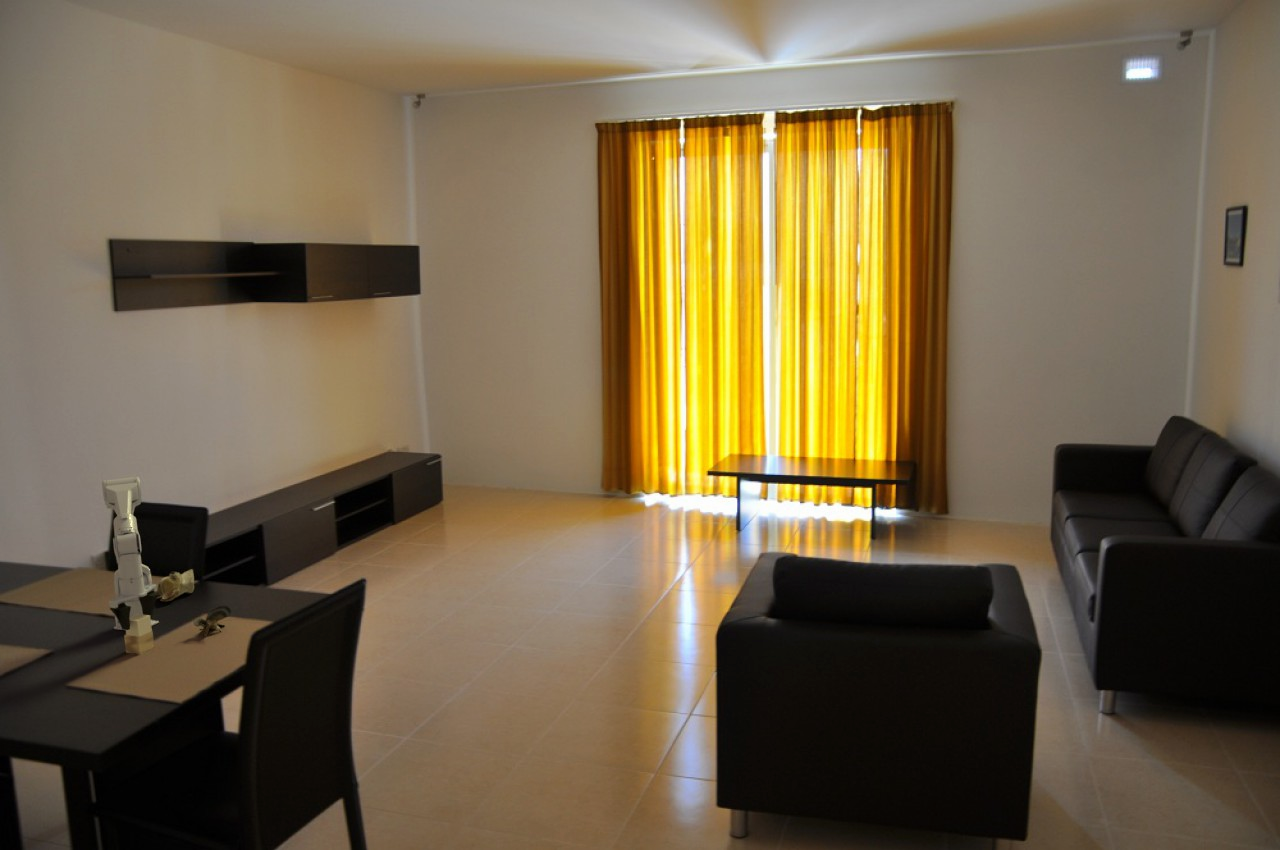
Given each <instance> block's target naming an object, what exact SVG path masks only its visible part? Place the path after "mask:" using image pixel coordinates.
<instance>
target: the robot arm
mask: <svg viewBox="0 0 1280 850" xmlns="http://www.w3.org/2000/svg"><path fill="white" fill-rule="evenodd" d="M140 479H141V478H140V477H138V476H137V475H136V476H132V477H125V478H115V479H107V480H106V479H104V480H103V481H102V482H101V487H102V496H103V501H104V504H105V506H106V509H110V510H114V513H115V514H116V517H115V518H114V519H113V531H114V537H113V539H112V541H113V543H112V544H113V551H114V555H115V557H116V558H115V559H116V564H117V566H118V567H117V568H118V569H117V570H115V572H114V574H113V579H114V580H113V584H114V593H115V597H113V598H112V599H110V600H108V605H109V610H110V611H111V612H112V613H113V614H114V620H115V626H114V627H113V629H114V630H119V631H126V630H129V629H130V617H131V616H134V615H136V614H142V615H150V619H151V627H153V626H154V625H157V624H160V622H159V620H154V619H153V613H154V609H155V608H154V607H155V604H156V601H157V599H158V598H159V597H158V593H154V592H155V591H157V587H158V584H156V583H153V580H152V573H151V569H150V568H149V566H147V565H145V564H143V563H142V556H141V554H142V544H141V543H142V542H141V536H140V533H139V530H138V523H137V518H136V516H134V512H135V508H136V507H137V506H139V505H141V504H142V501H143V500H142V496H143V495H142V488H141V480H140ZM138 550H139V551H140V552H139V551H138Z"/></svg>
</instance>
